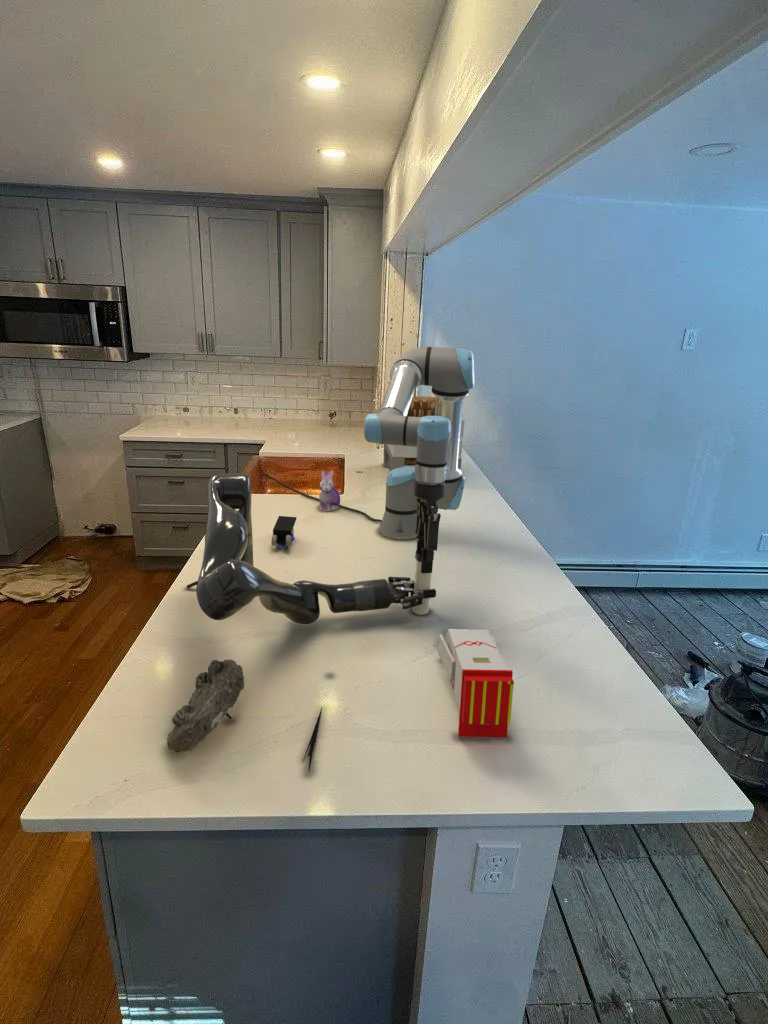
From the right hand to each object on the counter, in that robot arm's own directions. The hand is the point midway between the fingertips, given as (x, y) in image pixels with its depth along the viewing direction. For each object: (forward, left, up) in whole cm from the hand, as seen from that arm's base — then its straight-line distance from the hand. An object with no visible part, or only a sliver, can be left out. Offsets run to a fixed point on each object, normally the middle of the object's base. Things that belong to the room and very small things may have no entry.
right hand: (423, 567), depth 145 cm
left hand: (+1, +3, -6) cm, 7 cm away
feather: (+18, -45, -13) cm, 50 cm away
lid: (0, 0, +4) cm, 4 cm away
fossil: (+5, -61, -13) cm, 62 cm away
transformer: (-96, +92, -13) cm, 134 cm away
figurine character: (-58, -6, -13) cm, 60 cm away
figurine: (-79, +27, -13) cm, 85 cm away
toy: (+31, -15, -13) cm, 36 cm away
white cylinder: (0, 0, -13) cm, 13 cm away
